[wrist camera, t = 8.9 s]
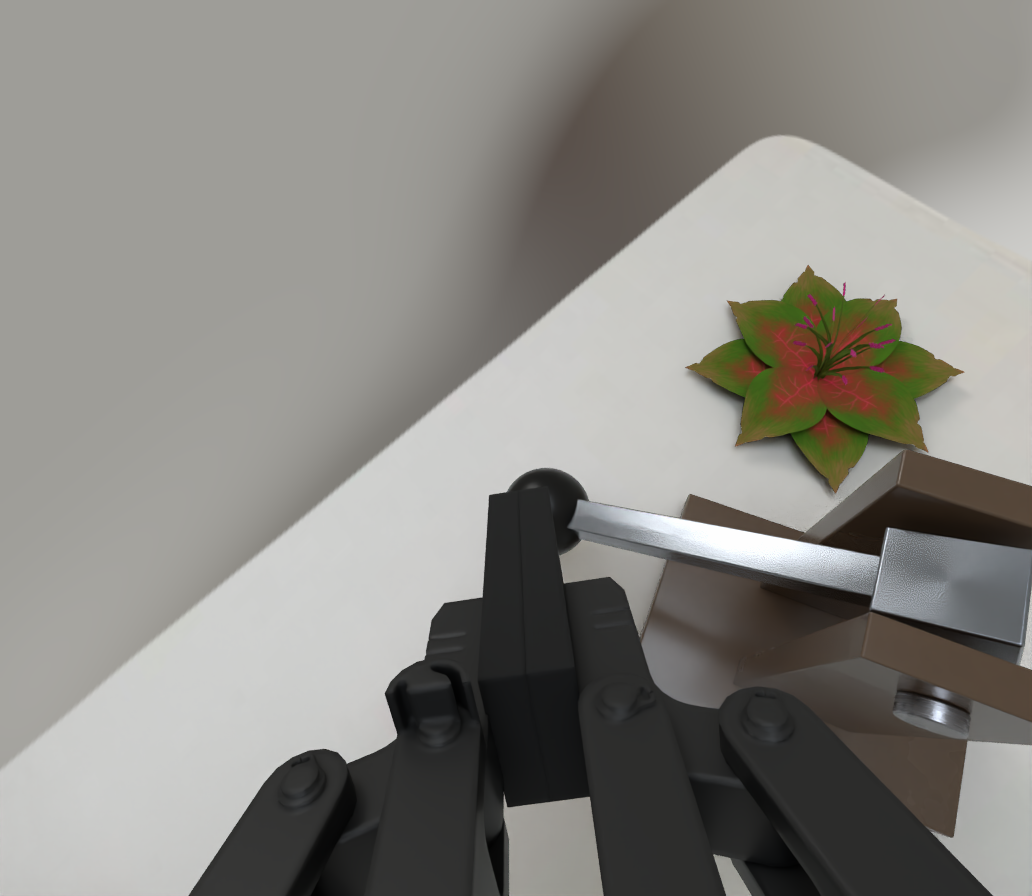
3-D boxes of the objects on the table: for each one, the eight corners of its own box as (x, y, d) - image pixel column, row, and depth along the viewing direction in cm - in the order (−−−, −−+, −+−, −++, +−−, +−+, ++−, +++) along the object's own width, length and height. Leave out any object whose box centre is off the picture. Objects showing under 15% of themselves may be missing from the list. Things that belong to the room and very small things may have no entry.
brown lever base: (620, 695, 25) (650, 676, 13) (685, 502, 28) (760, 333, 16) (933, 832, 22) (1374, 983, 10) (969, 600, 25) (1343, 489, 13)
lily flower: (835, 544, 27) (880, 513, 23) (641, 372, 31) (648, 320, 27) (1005, 380, 29) (1074, 324, 25) (800, 241, 33) (830, 174, 29)
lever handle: (517, 559, 24) (471, 525, 21) (548, 486, 25) (507, 447, 22) (1014, 701, 14) (1022, 667, 12) (1029, 572, 15) (1040, 519, 13)
